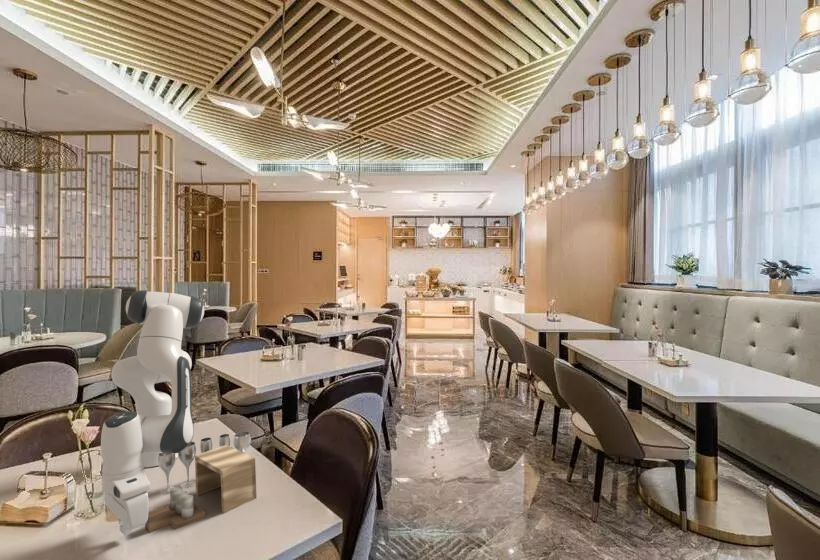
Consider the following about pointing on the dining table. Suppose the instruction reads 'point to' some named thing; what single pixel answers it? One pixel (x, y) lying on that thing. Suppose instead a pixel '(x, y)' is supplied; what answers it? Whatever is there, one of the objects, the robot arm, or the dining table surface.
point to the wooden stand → (226, 475)
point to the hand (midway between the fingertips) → (125, 532)
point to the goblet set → (188, 454)
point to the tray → (174, 512)
